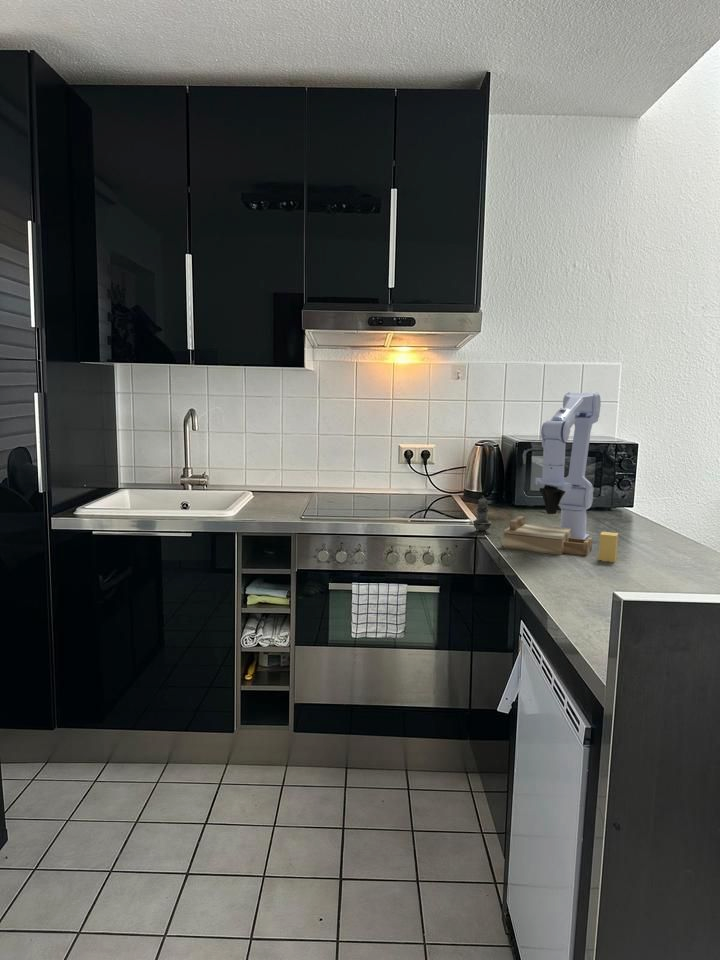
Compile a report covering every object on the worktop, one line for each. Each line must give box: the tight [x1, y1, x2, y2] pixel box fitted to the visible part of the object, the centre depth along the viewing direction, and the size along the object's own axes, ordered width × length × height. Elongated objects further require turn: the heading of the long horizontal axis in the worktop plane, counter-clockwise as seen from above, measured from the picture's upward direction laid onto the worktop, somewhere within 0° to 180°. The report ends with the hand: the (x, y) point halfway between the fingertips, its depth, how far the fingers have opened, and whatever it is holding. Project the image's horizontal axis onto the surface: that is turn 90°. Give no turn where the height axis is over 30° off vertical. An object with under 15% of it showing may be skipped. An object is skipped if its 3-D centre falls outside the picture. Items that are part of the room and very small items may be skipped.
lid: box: [503, 515, 572, 540], centre depth 186 cm, size 13×16×3 cm
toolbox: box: [502, 532, 593, 556], centre depth 185 cm, size 13×22×4 cm, turn 61°
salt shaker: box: [472, 495, 492, 536], centre depth 204 cm, size 6×6×12 cm
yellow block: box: [598, 531, 619, 563], centre depth 172 cm, size 4×4×7 cm
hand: (551, 513), depth 181 cm, fingers closed
